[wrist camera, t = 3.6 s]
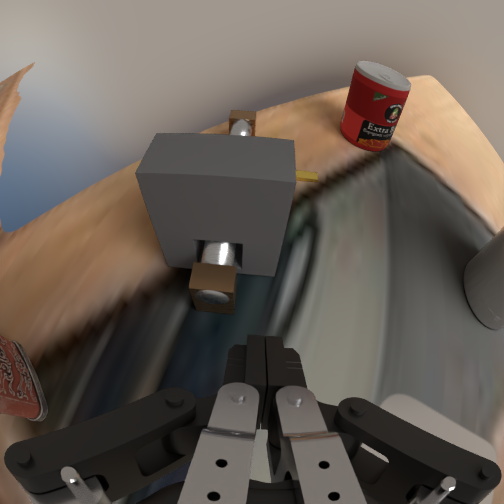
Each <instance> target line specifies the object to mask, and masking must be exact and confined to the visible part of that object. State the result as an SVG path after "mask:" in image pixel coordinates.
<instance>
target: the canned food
mask: <svg viewBox="0 0 504 504" xmlns="http://www.w3.org/2000/svg"><path fill="white" fill-rule="evenodd" d="M410 87H411V83H410V82H409V81H408V79H407V78H405V77H404V76H403V75H401V74H400V73H398V72H396V71H394V70H393V69H390V68H388V67H386V66H383V65H380V64H377V63H374V62H369V61H359V62H357V64H356V66H355V70H354V73H353V77H352V81H351V85H350V89H349V93H348V97H347V101H346V105H345V108H344V112H343V116H342V120H341V132H342V134H343V136H344V137H345V138H346V139H347V140H348V141H349V142H351V143H352V144H354V145H356V146H357V147H360V148H362V149H365V150H368V151H381V150H383V149H385V148H386V147H387V146H388V144H389V142H390V140H391V137H392V135H393V132H394V130H395V128H396V125H397V123H398V120H399V118H400V115H401V113H402V110H403V108H404V105H405V102H406V100H407V97H408V94H409V91H410Z"/></svg>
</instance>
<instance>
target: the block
mask: <svg viewBox="0 0 504 504" xmlns="http://www.w3.org/2000/svg"><path fill="white" fill-rule="evenodd" d="M135 174H136V177H137V180H138V183H139V186H140V189H141V192H142V195H143V198H144V201H145V204H146V207H147V210H148V213H149V216H150V219H151V221H152V224H153V227H154V230H155V232H156V235H157V238H158V240H159V243H160V246H161V248H162V251H163V254H164V256H165V259H166V261H167V264H168V266H169V267H179V268H188V269H192V268H193V263H194V262H197V263H201V260H202V255H203V250H204V245H205V240H207V241H218V242H230V243H236V249H235V257H234V265H233V266H236V273H240V274H251V275H262V276H275V272H276V268H277V264H278V260H279V256H280V251H281V247H282V243H283V239H284V234H285V230H286V226H287V221H288V217H289V213H290V208H291V204H292V199H293V195H294V190H295V186H296V167H295V148H294V140H286V139H277V138H266V137H255V136H241V135H224V134H196V133H161V134H160V133H157V134H156V135H155V137H154V139H153V141H152V143H151V144H150V146H149V148H148V150H147V151H146V153H145V155H144V157H143V159H142V161H141V163H140V165H139V167H138V169H137V171H136V173H135Z"/></svg>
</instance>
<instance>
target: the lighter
mask: <svg viewBox="0 0 504 504" xmlns="http://www.w3.org/2000/svg"><path fill="white" fill-rule="evenodd" d="M47 412H48V407H47V403H46V400H45V397H44V394H43V391H42V388H41V385H40V383H39V380H38V377H37V375H36V372H35V370H34V368H33V366H32V364H31V362H30V360H29V358H28V356H27V354H26V353H25V351H24V349H23V347H22V346H21V345H20V344H19V343H17V342H15V341H9V340H7V339H5V338H4V337H2V336H0V413H4V414H8V415H14V416H19V417H25V418H27V419H29V420H32V421H42V420H44V418H45V417H46V415H47Z"/></svg>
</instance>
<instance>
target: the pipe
mask: <svg viewBox="0 0 504 504" xmlns="http://www.w3.org/2000/svg"><path fill="white" fill-rule="evenodd" d="M255 126H256V112H253V111H238V110H231V113H230V117H229V135H241V136H255ZM296 180H302V181H310V182H318V175H317V173H315V172H307V171H299V170H296ZM235 249H236V243H230V242H218V241H207V240H205V245H204V250H203V255H202V260H201V263H197V262H194V263H193V268H192V273H191V278H190V283H189V291H190V294H191V296H192V299H193V302H194V305H195V308H196V311H205V312H213V313H223V314H233V315H234V310H235V301H236V266H233V265H234V257H235Z"/></svg>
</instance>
